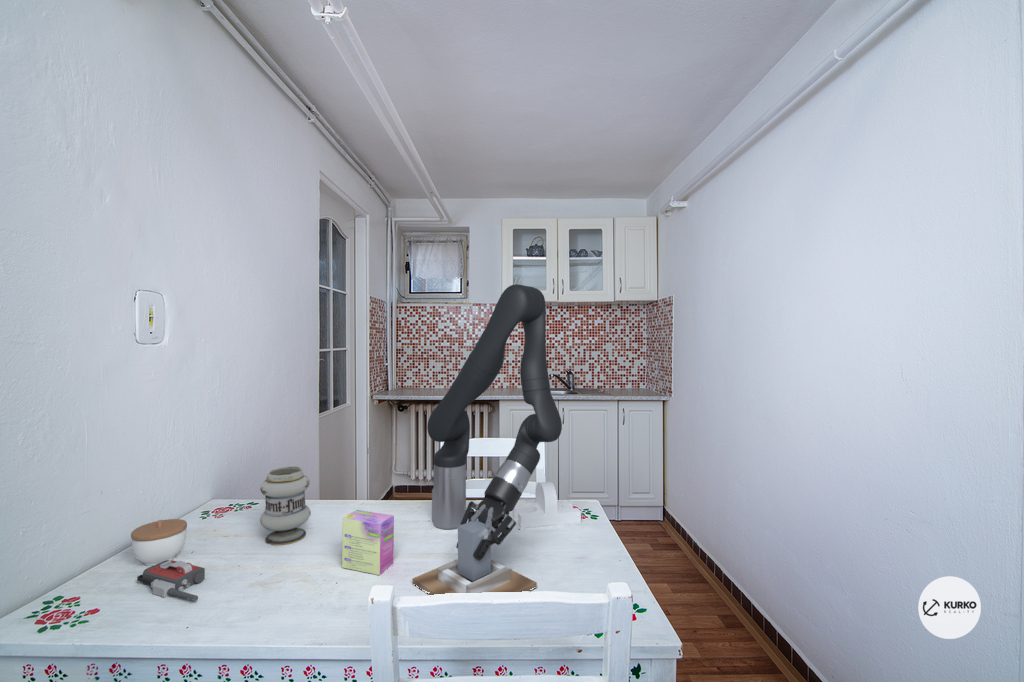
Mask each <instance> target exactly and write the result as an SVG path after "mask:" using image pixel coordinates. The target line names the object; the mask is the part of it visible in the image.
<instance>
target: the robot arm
mask: <svg viewBox="0 0 1024 682" xmlns="http://www.w3.org/2000/svg"><path fill="white" fill-rule="evenodd" d="M546 306H547V305H546V299H545V296H544V294H543V292H542V291H541V290H540V289H538V288H536V287H533V286H528V285H525V284H524V285H523V284H512V285H509V286H508V287H507V288H505V289H504V290H503V292H502V293H501V294H500V296H499V298H498V301H497V302H496V304H495V307H494V309H493V312H492V313H491V316H490V318H489V320H488V323H487V324H486V326H485V327H484V330H483V331H482V333H481V335H480V336H479V339H477V340H478V341H477V342H476V344H475V346H474V347H473V349H472V350H471V352H470V353H469V356H468V357H467V359H466V360H465V362H464V363H463V365H462V367H461V369H460V370H459V373H458V374H457V376H456V377H455V379H454V381H453V382H452V384H451V386H450V387H449V389H448V391H447V392H446V394H445V395H444V396H443V398H441V400H440V401H439V403H438V404H437V406H436V407H435V408H434V409H433V411H431V413H430V416H429V418H428V421H427V433H428V436H429V438H430V439H432V441H435V442H437V443H443V444H442V446H441V447H440V448H439V449H438V450H437V451H436V452H435V453H434V455H433V488H432V489H431V522H433V525H434V527H435V528H438V529H440V530H441V529H442V530H454V529H458V526H460V525H463V524H465V523H468V522H471V521H472V522H475V521H479V522H482V523H484V524H485V527H486V528H487V530H486V532H485V534H484V537H483V539H484V540H483V539H482V540H481V541H480V543H479V545H478V546H477V548H476V550H475V552H474V553H473V557H475V558H476V559H477V560H479V561H480V560H481V559H482V558H483V557H484V556H485V554H486V552H487V550H488V549H489V547H490V545H491V546H493V545H497V546H500V545H501V544H502V543H503V542H504V540H505V539H506V537H507V536H508V535H509V534H510V533H511V532H512V530H513V529H514V528H515V527H516V525H517V522H516V521H515V519H514V517H513V516H510V512H513V509H514V507H515V506H516V504H518V502H519V500H520V498H521V496H522V495H523V493H524V491H525V490H526V488H527V486H528V484H529V482H530V479H531V477H532V475H533V473H534V471H535V470H536V468H537V466H538V464H539V462H540V460H541V454H540V451H539V450H538V445H539V444H540V443H552V442H555V441H557V440H558V439H559V438H560V435H561V433H562V430H563V424H562V422H563V421H562V418H561V415H560V412H559V410H558V407H557V404H556V402H555V399H554V398H553V395H552V392H551V390H552V389H551V385H550V379H549V369H548V364H547V361H548V360H547V348H546V347H547V346H546V345H547V343H546V342H547V338H546V337H547V335H546V334H547V332H546V331H547V330H546V328H547V327H546V325H547V324H546V321H547V320H546V319H547V318H546V317H547V316H546V315H547V312H546V311H547V310H546V309H547V307H546ZM520 322H521V323H522V327H523V332H524V347H523V352H522V357H521V361H520V368H519V371H520V372H519V375H520V383H521V385H520V386H521V390H522V397H523V400H524V402H525V403H526V404H528V405H531V406H532V408H533V411H534V413H531V414H529V415H528V416H527V417H526V418H524V420H523V421H522V422H521V424H520V426H519V429H518V432H517V434H516V437H515V438H516V439H515V441H514V445H513V447H512V449H511V450H510V452H509V453H508V455H507V457H506V458H505V460H504V461H503V463H502V464H501V465H500V466H499V467H498V469H497V471H496V472H495V474H494V476H493V477H492V479H491V480H490V483H489V484H488V486H487V487H486V488H485V490H484V497H483V500H481V501H480V502H479V503H475V502H474V501H472V500H471V501H469V503H468V505H467V457H468V454H469V451H470V434H471V431H470V430H471V424H470V417H469V414H468V413H467V411H466V409H467V408H468V407H469V406H470V405H471V404H472V403H474V401H476V400H477V399H478V398H479V397H481V395H482V394H484V393H485V392H486V391H487V390H488V389H489V388H490V387H491V385H492V384H493V383H494V381H495V380H496V378H497V376H498V375H499V373H500V371H501V369H502V367H503V366H504V361H505V356H506V355H505V353H506V345H507V344H506V343H507V341H508V339H509V337H510V336H511V334H512V333H513V331H514V330H515V328H516V327H517V325H518V324H519V323H520ZM490 533H491V535H490ZM455 546H456V549H457V550H458V541H457V543H456V545H455Z"/></svg>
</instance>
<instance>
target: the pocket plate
mask: <svg viewBox="0 0 1024 682" xmlns="http://www.w3.org/2000/svg"><path fill="white" fill-rule="evenodd" d="M411 580H412V583H413V584H415V585H417V586H418V587H419V588H421V589H423V590H425V591H427V592H430V593H429V594H427V595H428V596H429V595H434V594H445V593H482V592H522V591H531V592H532V591H533V590H530V589H532V588H534V587H536V586H537V585H538V583H537V581H535V580H532V579H530V578H528V577H527V576H524V575H523V574H521V573H518V572H516V571H515V570H513V569H510V568H509V567H507V566H505V565H503V564H501V563H499V562H497V561H495V560H494V559H491V573H489V574H487V575H485V576H483V577H481V578H479V579H476V580H474V581H472V580H470V579H468V578H466V577H465V576H463V575H461V574H459V573H458V559H456V560H454V561H451V562H449V563H446V564H444V565H441V566H438V567H436V568H433V569H432V570H429V571H427V572H424V573H422V574H420V575H418V576H415V577H412V579H411ZM413 584H412V585H413ZM415 585H414V586H415ZM418 587H417V588H418ZM537 587H538V586H537ZM419 588H418V589H419ZM421 589H420V590H421Z"/></svg>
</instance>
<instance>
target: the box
mask: <svg viewBox="0 0 1024 682" xmlns="http://www.w3.org/2000/svg"><path fill="white" fill-rule="evenodd" d="M341 529H342V530H341V531H342V538H341V539H342V540H341V542H342V543H341V545H342V547H341V560H342V561H341V563H342V564H341V568H343V569H348V570H353V571H359V572H362V573H368V574H372V575H376V576H381V575H382V574H383V573H385V572H386V571H387V570H389V569H390V568H391V567H392V566H393V565H394V546H395V545H394V539H395V538H394V537H395V533H394V532H395V515H392V514H385V513H380V512H375V511H374V512H373V511H368V510H363V509H362V510H361V509H357V510H353V511H352V512H350V513H349V514H347V515H344V516H343V517H342V528H341ZM392 564H393V565H392ZM391 565H392V566H391ZM390 566H391V567H390ZM389 567H390V568H389ZM388 568H389V569H388ZM386 569H387V570H386ZM385 570H386V571H385ZM384 571H385V572H384ZM380 574H381V575H380Z"/></svg>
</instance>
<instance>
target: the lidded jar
mask: <svg viewBox="0 0 1024 682" xmlns="http://www.w3.org/2000/svg"><path fill="white" fill-rule="evenodd" d="M187 527H188V522H187V521H186V520H185V519H180V518H168V519H159V520H156V521H152V522H148V523H145V524H144V525H141V526H138V527H136V528H134V529H133V531H131V532H130V539H131V547H132V549H131V550H132V552H133V555H134V557H135V558H136V560H138V561H139V562H141V563H142V564H143V565H145V566H147V567H148V566H149V567H151V566H154V565H156V564H158V563H161V562H163V561H165V560H173V561H174V559H175V558H176V556H177V555H178V554H179V553H180V552H181V550H182V549H183V547H184V546H185V542H186V538H187Z"/></svg>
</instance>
